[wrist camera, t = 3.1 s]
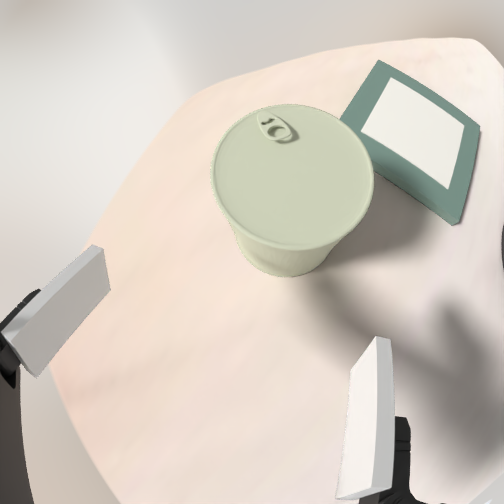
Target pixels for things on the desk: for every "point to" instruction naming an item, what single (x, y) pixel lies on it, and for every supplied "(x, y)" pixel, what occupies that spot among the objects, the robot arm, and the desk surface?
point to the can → (291, 186)
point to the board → (415, 139)
